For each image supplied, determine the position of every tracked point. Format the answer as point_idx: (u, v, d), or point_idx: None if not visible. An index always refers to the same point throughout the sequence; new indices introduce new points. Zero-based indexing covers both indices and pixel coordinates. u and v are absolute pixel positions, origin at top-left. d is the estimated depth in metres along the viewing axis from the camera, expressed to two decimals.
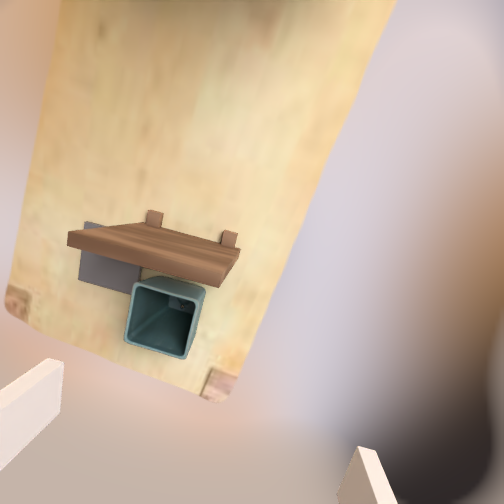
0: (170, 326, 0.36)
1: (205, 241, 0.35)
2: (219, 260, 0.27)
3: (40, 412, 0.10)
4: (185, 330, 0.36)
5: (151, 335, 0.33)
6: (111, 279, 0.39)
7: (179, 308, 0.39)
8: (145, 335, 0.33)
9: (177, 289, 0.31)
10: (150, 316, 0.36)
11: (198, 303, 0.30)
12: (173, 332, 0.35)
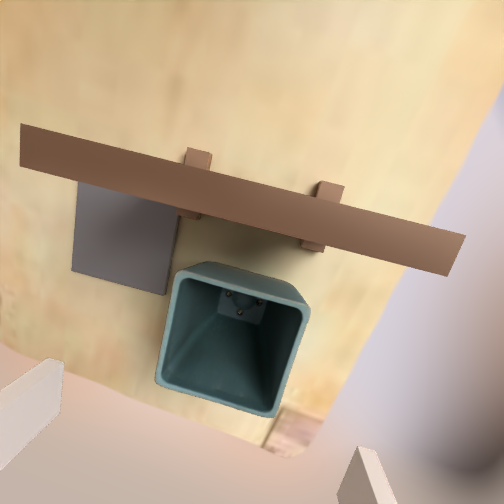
0: (227, 348, 0.21)
1: None
2: None
3: (40, 412, 0.10)
4: (253, 354, 0.21)
5: (202, 367, 0.18)
6: (124, 268, 0.24)
7: (235, 315, 0.24)
8: (191, 368, 0.18)
9: (257, 283, 0.16)
10: (193, 331, 0.21)
11: (308, 311, 0.15)
12: (236, 359, 0.20)
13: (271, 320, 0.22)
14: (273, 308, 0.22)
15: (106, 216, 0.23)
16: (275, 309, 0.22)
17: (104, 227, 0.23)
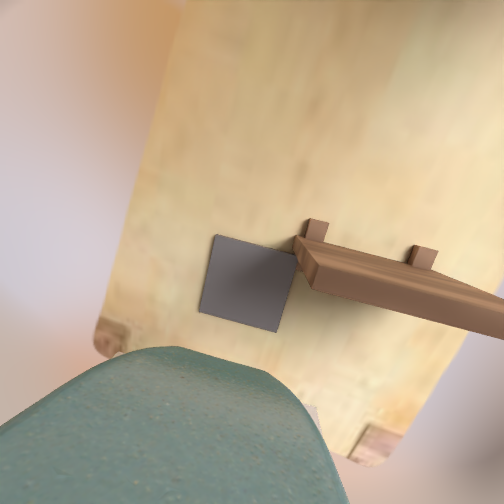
0: None
1: (394, 261, 0.25)
2: (502, 301, 0.17)
3: None
4: None
5: None
6: (245, 310, 0.29)
7: None
8: None
9: None
10: None
11: None
12: None
13: None
14: None
15: (234, 269, 0.28)
16: None
17: (231, 277, 0.28)
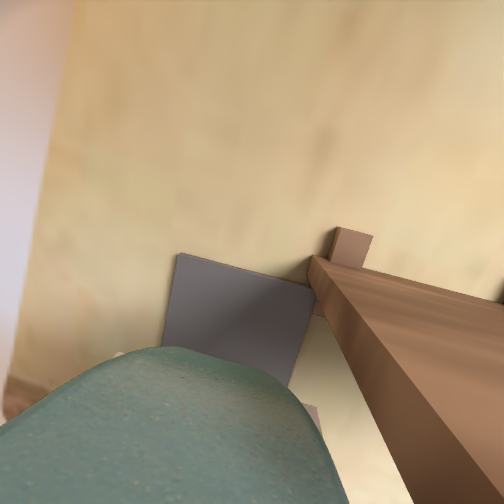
0: None
1: (489, 304, 0.14)
2: None
3: None
4: None
5: None
6: None
7: None
8: None
9: None
10: None
11: None
12: None
13: None
14: None
15: (211, 310, 0.17)
16: None
17: (206, 323, 0.17)
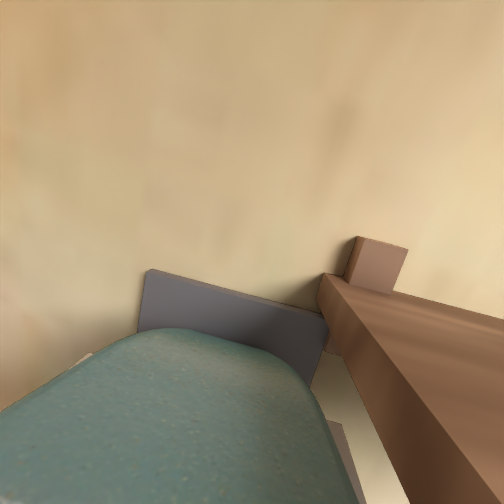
0: None
1: None
2: None
3: None
4: None
5: None
6: None
7: None
8: None
9: (217, 456, 0.05)
10: None
11: None
12: None
13: None
14: None
15: None
16: None
17: None
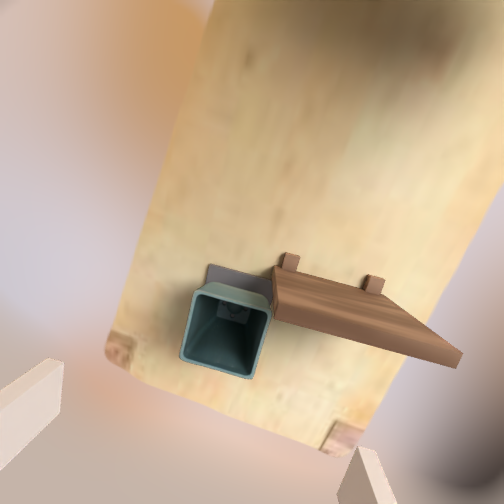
0: (223, 339, 0.32)
1: (350, 288, 0.32)
2: (416, 324, 0.24)
3: (40, 412, 0.10)
4: (240, 343, 0.32)
5: (207, 350, 0.29)
6: None
7: (229, 318, 0.35)
8: (200, 351, 0.29)
9: (242, 297, 0.27)
10: (201, 328, 0.32)
11: (271, 313, 0.25)
12: (229, 346, 0.31)
13: (253, 320, 0.33)
14: (254, 312, 0.33)
15: None
16: (255, 313, 0.33)
17: None
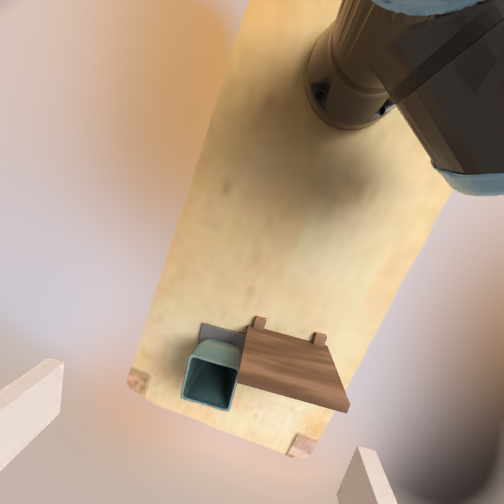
0: (212, 379, 0.45)
1: (302, 343, 0.45)
2: (333, 379, 0.37)
3: (40, 412, 0.10)
4: (224, 382, 0.45)
5: (200, 390, 0.42)
6: None
7: None
8: (195, 390, 0.42)
9: (222, 357, 0.40)
10: (196, 371, 0.45)
11: None
12: (215, 385, 0.44)
13: None
14: None
15: None
16: None
17: None
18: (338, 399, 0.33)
